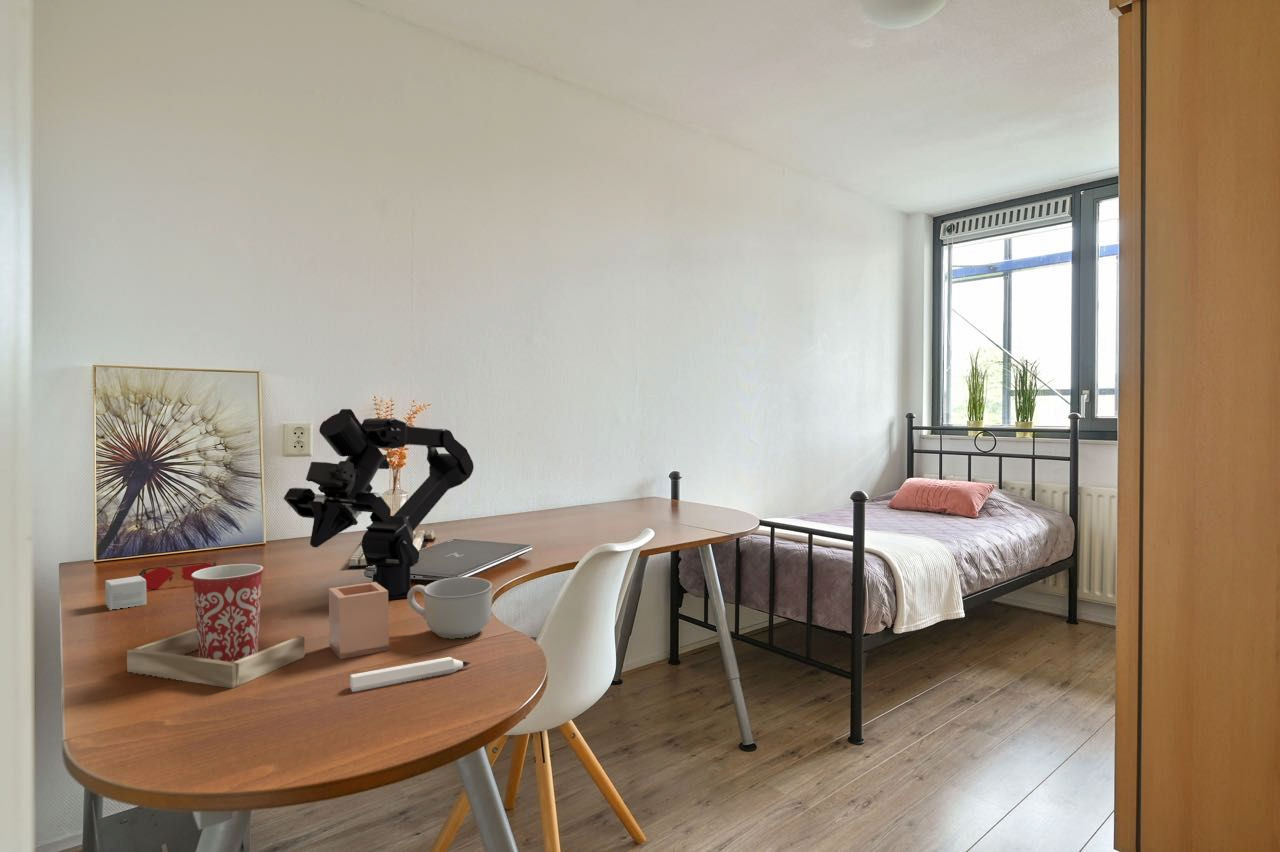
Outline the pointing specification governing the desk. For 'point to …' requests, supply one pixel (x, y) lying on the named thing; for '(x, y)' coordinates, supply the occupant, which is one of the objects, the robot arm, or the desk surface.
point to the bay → (208, 661)
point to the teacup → (454, 605)
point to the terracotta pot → (358, 619)
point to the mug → (227, 610)
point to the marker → (404, 673)
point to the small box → (125, 592)
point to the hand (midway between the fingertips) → (313, 545)
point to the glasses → (170, 574)
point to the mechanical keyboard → (419, 542)
